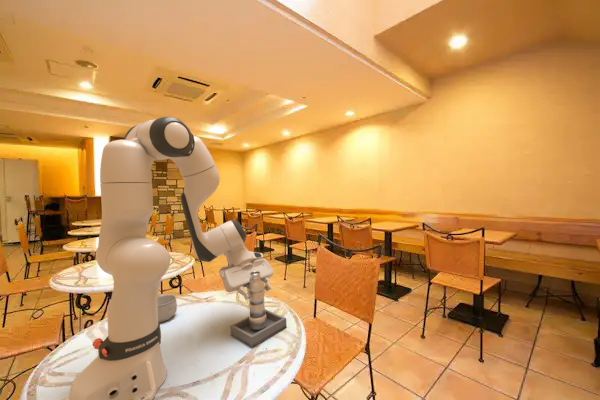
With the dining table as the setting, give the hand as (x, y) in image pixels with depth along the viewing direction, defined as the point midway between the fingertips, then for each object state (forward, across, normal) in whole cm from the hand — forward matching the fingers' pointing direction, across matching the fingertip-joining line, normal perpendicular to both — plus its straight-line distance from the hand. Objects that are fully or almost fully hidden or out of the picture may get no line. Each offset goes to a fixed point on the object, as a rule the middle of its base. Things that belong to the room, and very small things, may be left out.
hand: (259, 293), depth 91 cm
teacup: (-19, -17, +39) cm, 46 cm away
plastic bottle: (+8, 0, +10) cm, 13 cm away
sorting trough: (+9, 0, +10) cm, 14 cm away
